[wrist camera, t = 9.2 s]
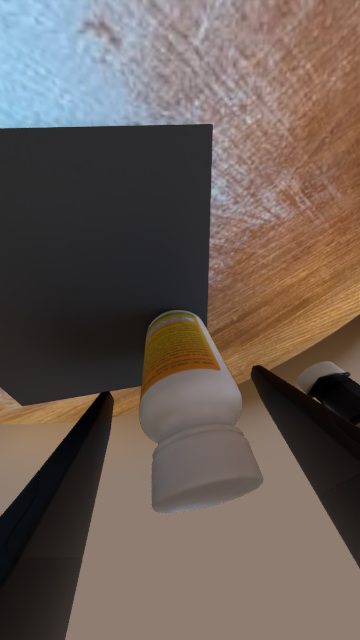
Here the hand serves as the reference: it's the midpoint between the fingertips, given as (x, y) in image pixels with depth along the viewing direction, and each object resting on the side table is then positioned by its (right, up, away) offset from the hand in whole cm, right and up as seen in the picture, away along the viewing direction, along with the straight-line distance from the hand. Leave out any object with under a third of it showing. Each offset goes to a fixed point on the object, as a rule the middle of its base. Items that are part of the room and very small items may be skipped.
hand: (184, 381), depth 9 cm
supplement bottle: (-1, +3, +4) cm, 5 cm away
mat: (-8, +5, +3) cm, 10 cm away
